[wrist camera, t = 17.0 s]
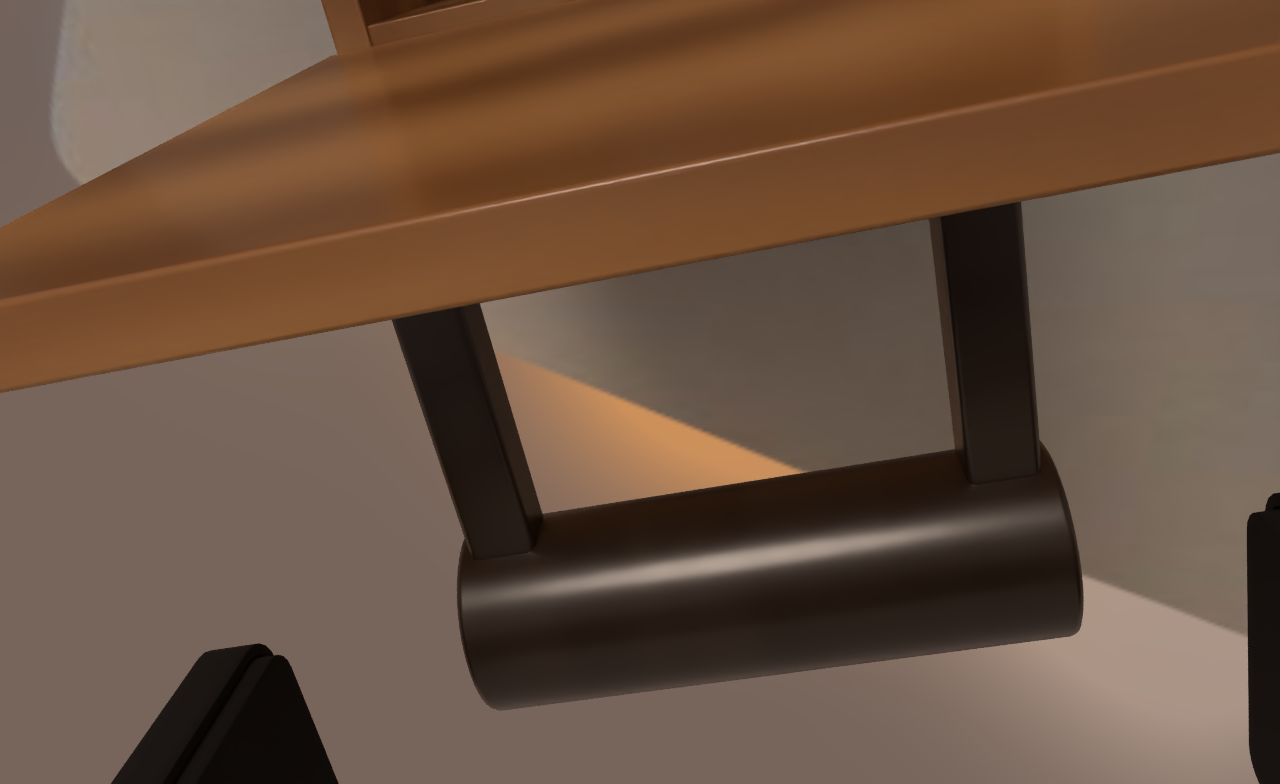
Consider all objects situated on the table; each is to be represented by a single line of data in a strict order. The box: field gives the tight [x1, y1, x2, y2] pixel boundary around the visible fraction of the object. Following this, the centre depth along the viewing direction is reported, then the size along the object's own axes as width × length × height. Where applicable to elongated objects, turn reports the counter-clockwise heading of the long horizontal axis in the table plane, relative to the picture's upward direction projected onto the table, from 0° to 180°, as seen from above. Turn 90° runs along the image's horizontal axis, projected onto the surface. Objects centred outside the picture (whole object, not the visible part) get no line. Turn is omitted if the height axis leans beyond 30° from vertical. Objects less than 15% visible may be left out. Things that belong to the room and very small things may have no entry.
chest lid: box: [0, 0, 1280, 710], centre depth 16 cm, size 15×16×6 cm
